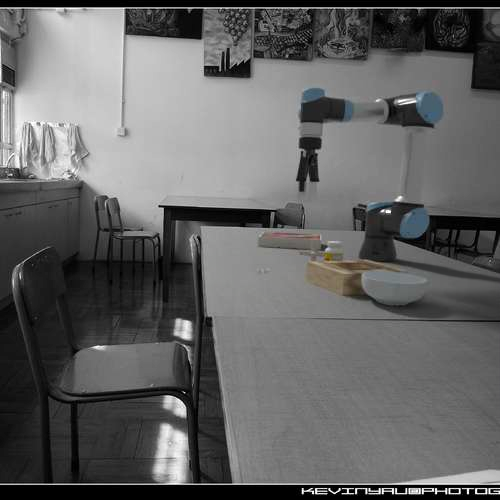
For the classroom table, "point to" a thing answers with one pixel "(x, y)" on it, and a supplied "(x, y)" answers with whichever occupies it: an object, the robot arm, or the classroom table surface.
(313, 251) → the pipe connector
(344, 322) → the classroom table surface
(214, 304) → the classroom table surface
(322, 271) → the seat board
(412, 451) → the classroom table surface
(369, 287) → the cereal bowl
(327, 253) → the pill bottle
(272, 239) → the product packaging
